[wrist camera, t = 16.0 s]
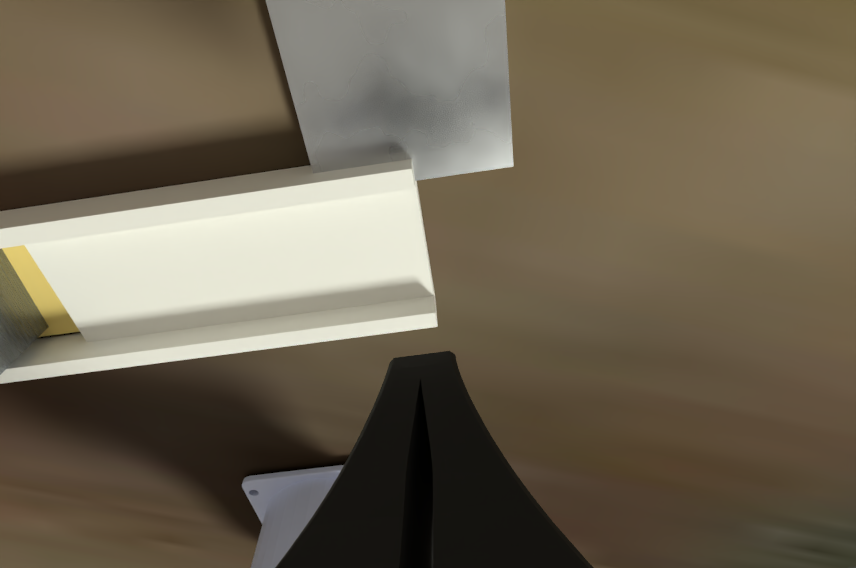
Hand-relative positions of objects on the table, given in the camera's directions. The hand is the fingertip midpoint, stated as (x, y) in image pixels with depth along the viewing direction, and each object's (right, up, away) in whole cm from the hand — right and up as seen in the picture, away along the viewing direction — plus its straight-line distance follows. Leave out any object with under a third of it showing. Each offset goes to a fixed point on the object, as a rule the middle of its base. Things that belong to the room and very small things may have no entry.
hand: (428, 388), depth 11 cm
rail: (-12, +3, +10) cm, 16 cm away
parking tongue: (-1, +9, +6) cm, 11 cm away
